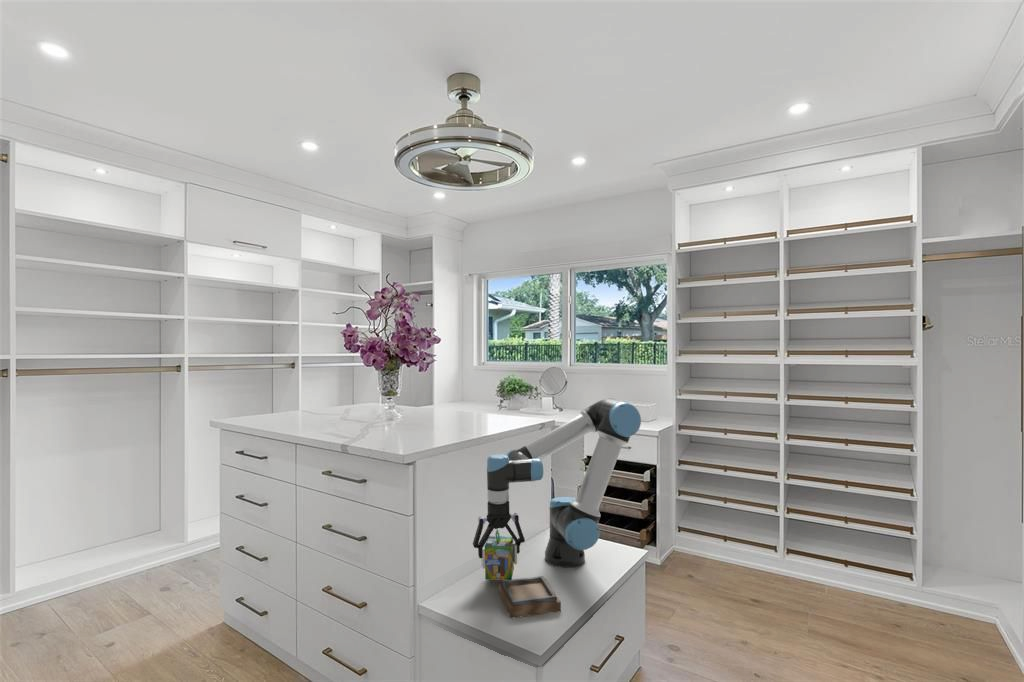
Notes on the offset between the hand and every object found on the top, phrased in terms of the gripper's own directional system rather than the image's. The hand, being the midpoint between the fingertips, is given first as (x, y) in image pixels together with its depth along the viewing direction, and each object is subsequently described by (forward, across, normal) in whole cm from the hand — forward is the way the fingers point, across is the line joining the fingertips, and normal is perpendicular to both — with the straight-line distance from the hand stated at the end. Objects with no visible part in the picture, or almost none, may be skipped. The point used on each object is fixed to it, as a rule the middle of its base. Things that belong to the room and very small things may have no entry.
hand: (499, 564), depth 172 cm
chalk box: (+4, 0, -1) cm, 4 cm away
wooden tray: (+6, -6, +14) cm, 17 cm away
